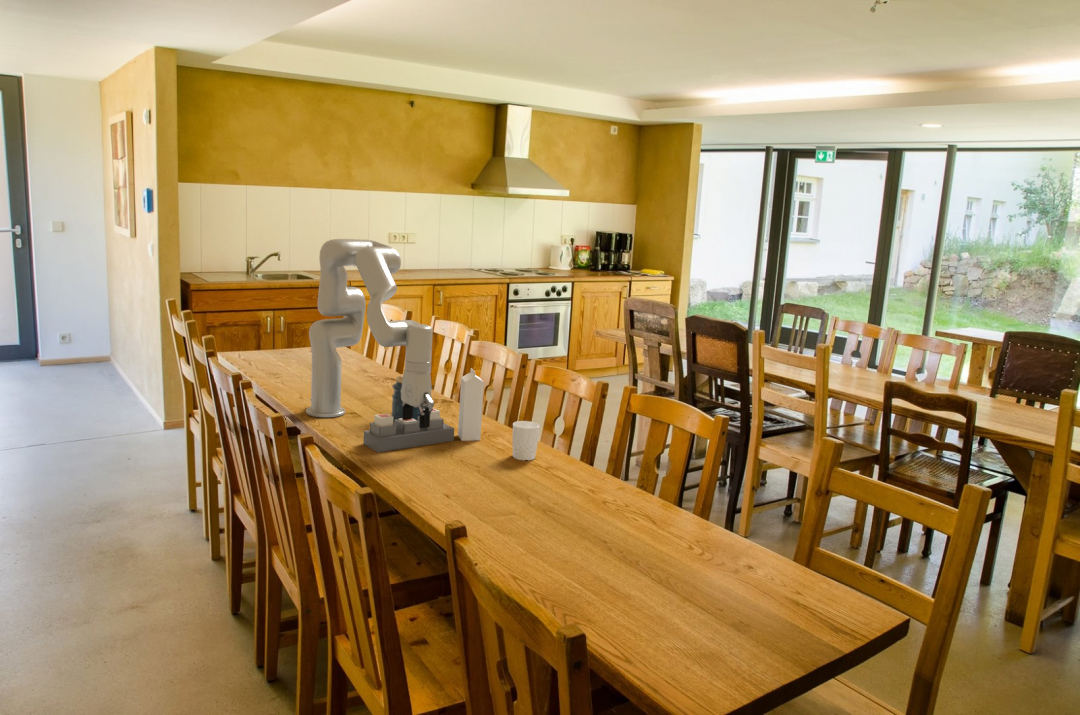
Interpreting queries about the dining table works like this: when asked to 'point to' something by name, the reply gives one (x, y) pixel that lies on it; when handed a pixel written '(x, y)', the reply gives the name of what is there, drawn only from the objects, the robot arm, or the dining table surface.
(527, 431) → the white cup
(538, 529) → the dining table surface
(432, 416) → the button
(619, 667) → the dining table surface
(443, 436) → the button panel
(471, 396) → the milk
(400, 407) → the canister
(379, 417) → the button
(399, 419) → the button
